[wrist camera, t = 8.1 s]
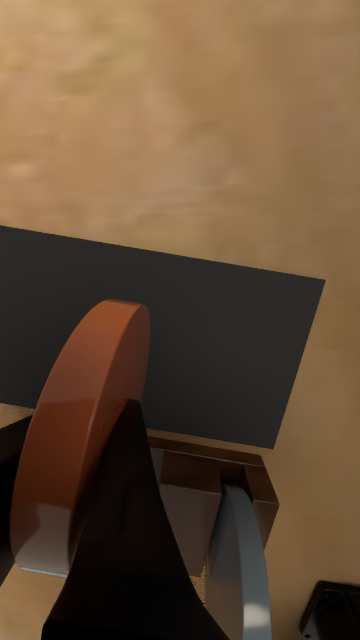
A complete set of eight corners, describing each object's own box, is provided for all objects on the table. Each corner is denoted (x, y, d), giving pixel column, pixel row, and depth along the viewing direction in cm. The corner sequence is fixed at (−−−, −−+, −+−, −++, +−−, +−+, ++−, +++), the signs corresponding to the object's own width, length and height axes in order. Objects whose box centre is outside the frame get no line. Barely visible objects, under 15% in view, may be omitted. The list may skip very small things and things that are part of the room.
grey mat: (271, 445, 16) (273, 449, 16) (0, 399, 16) (-5, 402, 16) (322, 279, 13) (326, 280, 13) (-5, 225, 13) (-10, 223, 13)
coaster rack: (261, 455, 16) (280, 504, 13) (239, 526, 18) (252, 586, 15) (47, 418, 16) (10, 458, 13) (45, 493, 18) (11, 545, 15)
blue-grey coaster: (240, 456, 15) (293, 652, 7) (217, 541, 17) (240, 771, 9) (223, 453, 15) (258, 645, 7) (201, 539, 17) (212, 766, 9)
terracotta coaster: (157, 292, 11) (83, 347, 3) (138, 428, 13) (61, 671, 5) (134, 288, 11) (2, 334, 3) (118, 425, 13) (9, 663, 5)
